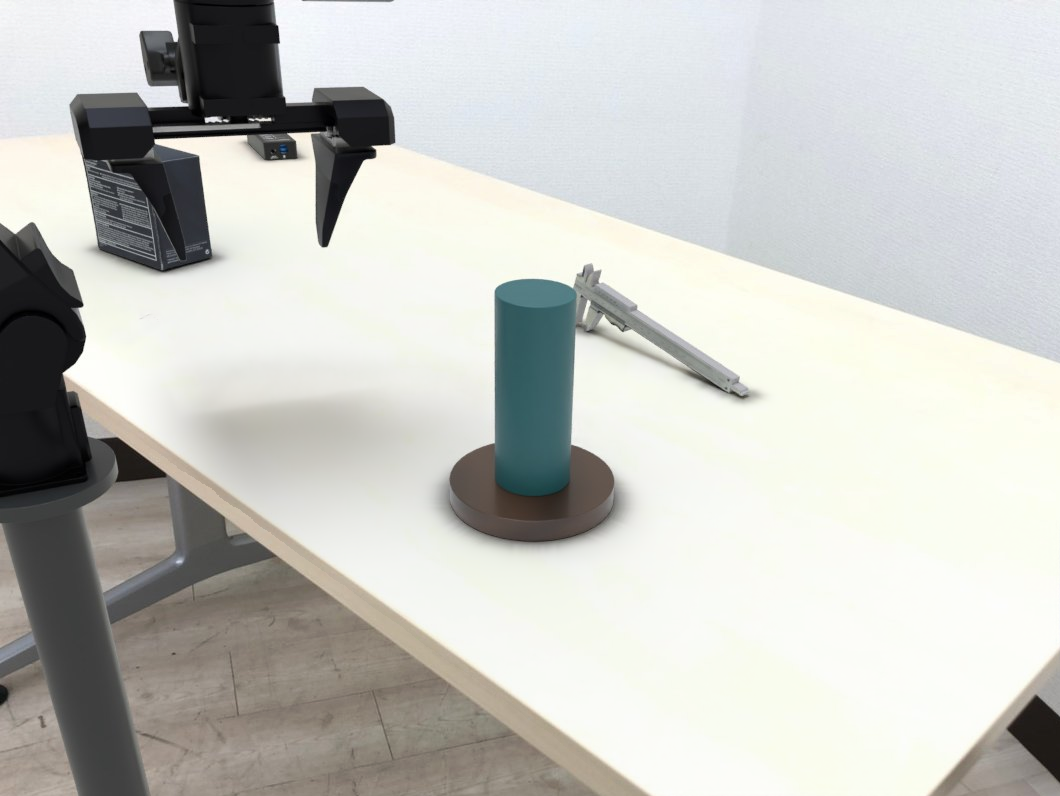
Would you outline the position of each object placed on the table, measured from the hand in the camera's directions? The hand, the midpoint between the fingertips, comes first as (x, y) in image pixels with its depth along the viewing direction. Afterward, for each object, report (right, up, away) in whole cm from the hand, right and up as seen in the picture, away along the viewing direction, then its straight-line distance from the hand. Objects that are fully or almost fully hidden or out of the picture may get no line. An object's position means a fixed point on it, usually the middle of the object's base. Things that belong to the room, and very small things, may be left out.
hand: (254, 252), depth 71 cm
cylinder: (+19, -15, -1) cm, 24 cm away
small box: (-23, +8, +36) cm, 44 cm away
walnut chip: (+19, -17, 0) cm, 25 cm away
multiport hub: (-26, +31, +76) cm, 86 cm away
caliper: (+27, -5, +22) cm, 35 cm away
